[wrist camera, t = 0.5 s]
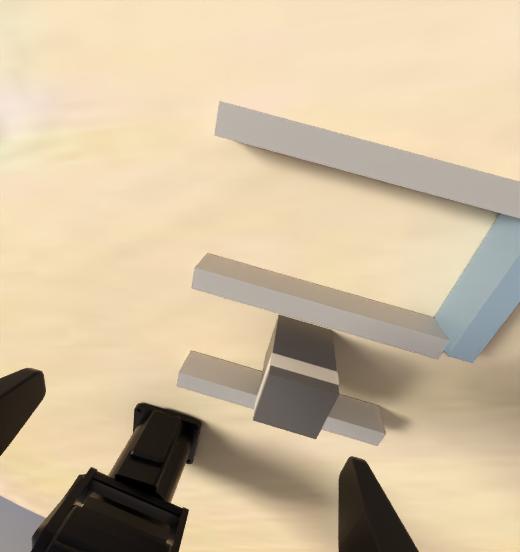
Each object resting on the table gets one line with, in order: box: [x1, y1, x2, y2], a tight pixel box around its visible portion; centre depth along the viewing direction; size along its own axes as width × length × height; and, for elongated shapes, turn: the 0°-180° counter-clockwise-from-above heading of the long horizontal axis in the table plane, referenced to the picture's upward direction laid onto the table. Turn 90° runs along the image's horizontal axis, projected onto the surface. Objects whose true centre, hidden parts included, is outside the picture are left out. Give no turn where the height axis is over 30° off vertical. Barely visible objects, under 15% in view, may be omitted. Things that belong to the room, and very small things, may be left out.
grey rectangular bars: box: [177, 101, 520, 446], centre depth 19 cm, size 20×18×3 cm
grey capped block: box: [253, 315, 339, 439], centre depth 20 cm, size 4×4×6 cm
